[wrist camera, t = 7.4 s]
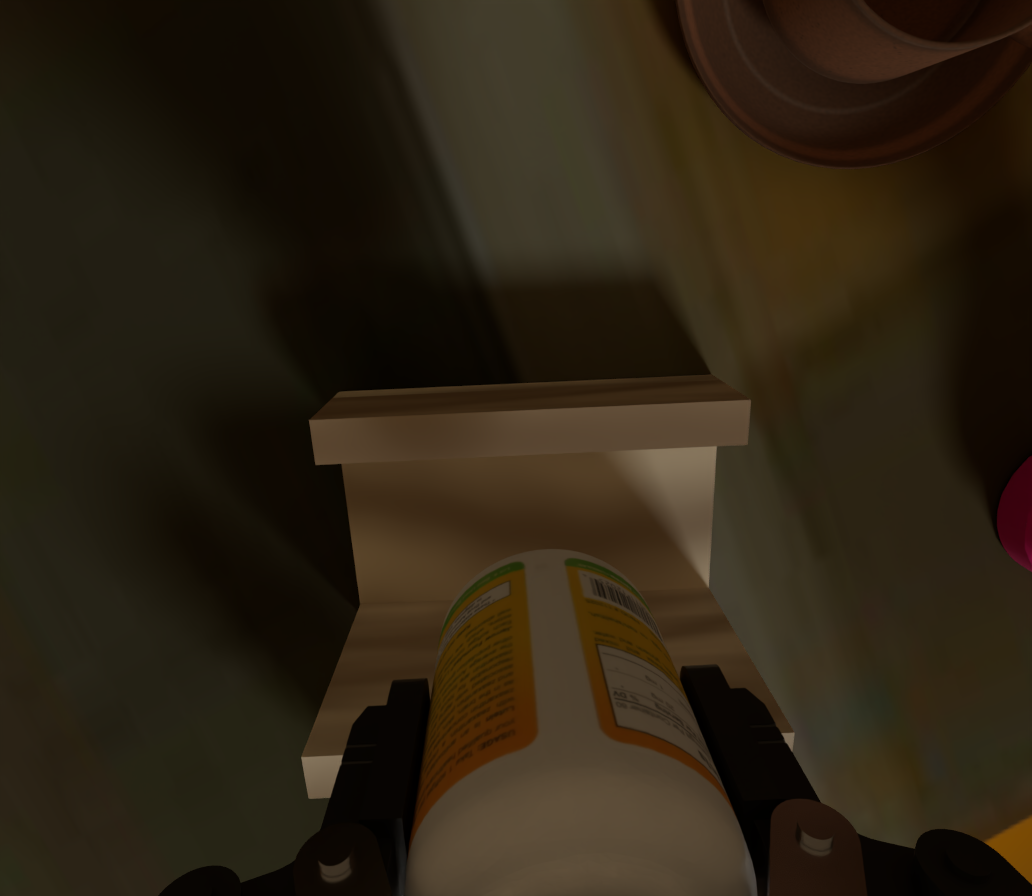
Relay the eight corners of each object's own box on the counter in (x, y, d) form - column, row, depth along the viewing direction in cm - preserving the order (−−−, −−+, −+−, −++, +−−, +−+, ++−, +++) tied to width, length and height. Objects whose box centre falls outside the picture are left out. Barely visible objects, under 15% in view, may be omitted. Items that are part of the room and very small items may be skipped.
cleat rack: (339, 391, 24) (250, 475, 16) (711, 374, 24) (826, 448, 16) (369, 622, 27) (308, 798, 19) (699, 606, 27) (789, 774, 19)
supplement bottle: (449, 732, 17) (390, 1315, 8) (430, 549, 15) (328, 1013, 6) (652, 720, 17) (832, 1284, 8) (655, 535, 15) (889, 978, 6)
